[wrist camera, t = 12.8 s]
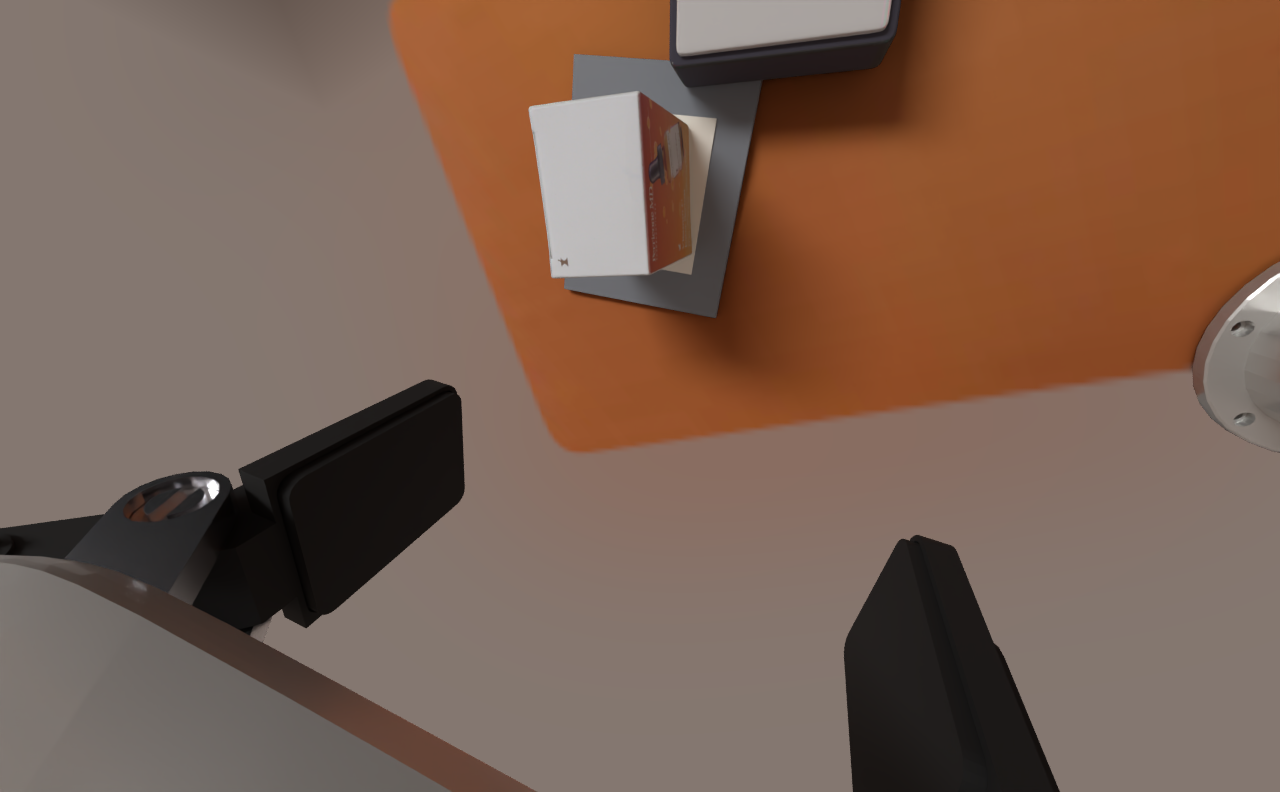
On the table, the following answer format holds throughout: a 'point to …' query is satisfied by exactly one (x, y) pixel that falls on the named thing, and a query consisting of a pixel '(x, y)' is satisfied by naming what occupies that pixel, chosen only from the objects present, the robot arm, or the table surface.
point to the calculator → (777, 38)
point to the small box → (613, 185)
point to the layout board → (714, 176)
